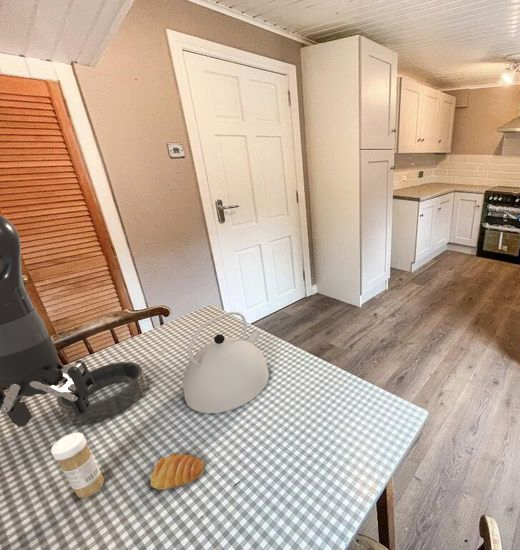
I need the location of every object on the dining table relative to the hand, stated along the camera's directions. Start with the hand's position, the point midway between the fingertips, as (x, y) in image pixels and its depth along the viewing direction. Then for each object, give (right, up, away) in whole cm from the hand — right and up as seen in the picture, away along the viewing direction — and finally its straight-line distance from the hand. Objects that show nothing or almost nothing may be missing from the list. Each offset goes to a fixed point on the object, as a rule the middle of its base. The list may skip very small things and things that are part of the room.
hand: (54, 417), depth 54 cm
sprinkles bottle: (0, -18, +7) cm, 20 cm away
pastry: (+16, -17, +10) cm, 25 cm away
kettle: (+16, -7, +36) cm, 40 cm away
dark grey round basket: (-15, -9, +30) cm, 35 cm away
